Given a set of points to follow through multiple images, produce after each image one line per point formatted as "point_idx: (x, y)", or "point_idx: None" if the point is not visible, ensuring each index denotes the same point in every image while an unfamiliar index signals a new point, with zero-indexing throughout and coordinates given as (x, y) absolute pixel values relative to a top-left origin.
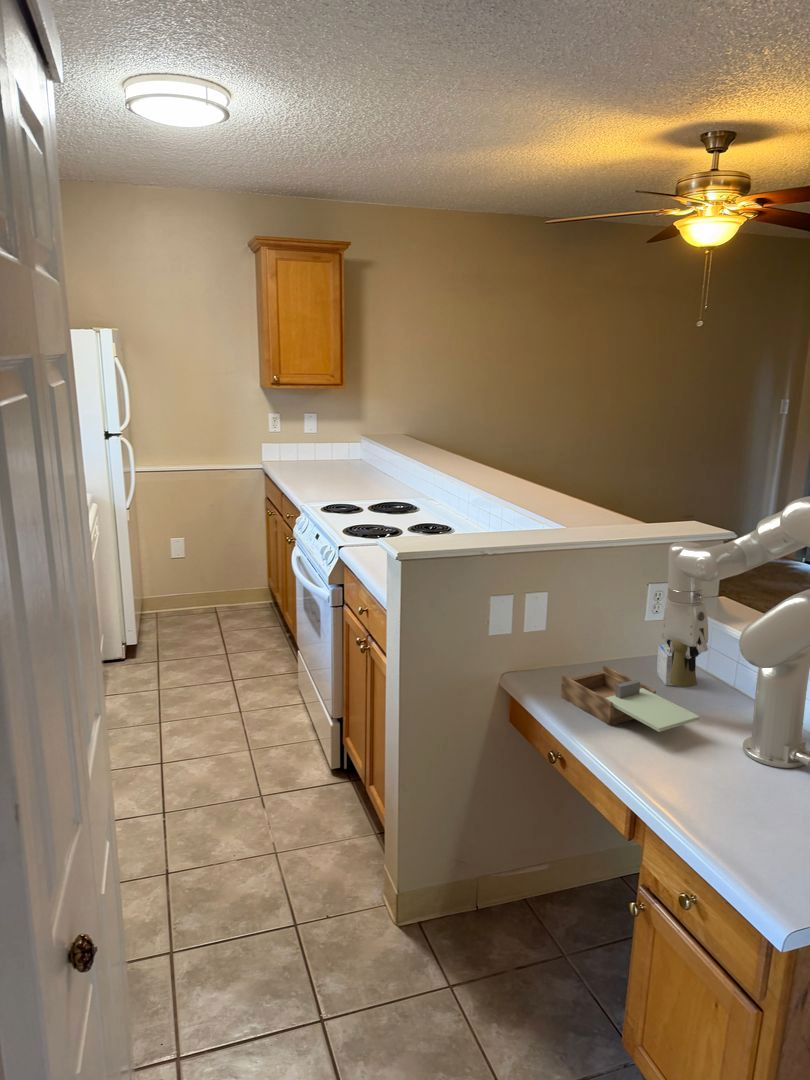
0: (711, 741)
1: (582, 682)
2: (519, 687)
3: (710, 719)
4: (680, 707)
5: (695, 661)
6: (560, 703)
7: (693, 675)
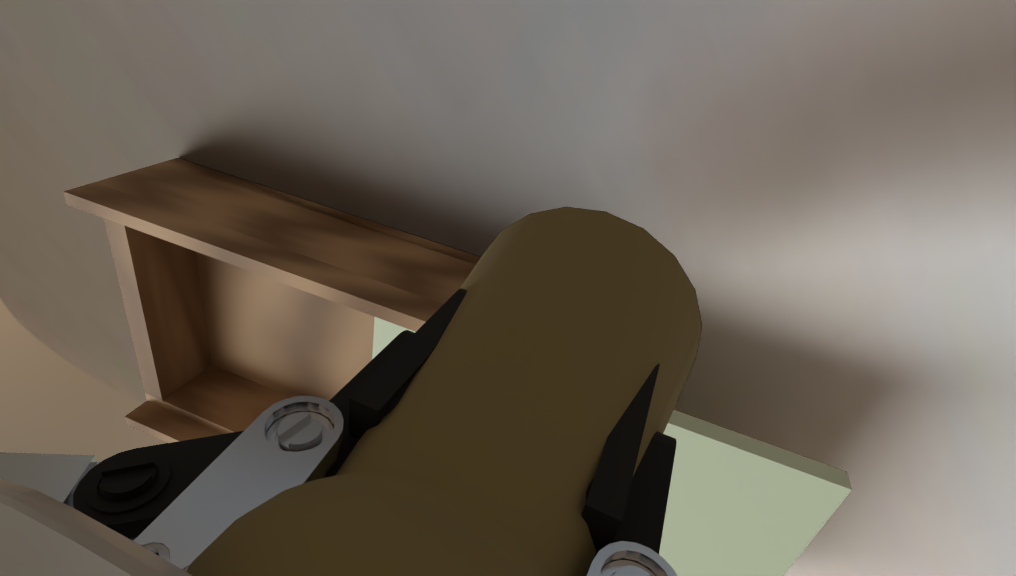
0: (904, 377)
1: (167, 326)
2: (105, 378)
3: (795, 107)
4: (685, 435)
5: (662, 521)
6: None
7: (672, 401)
